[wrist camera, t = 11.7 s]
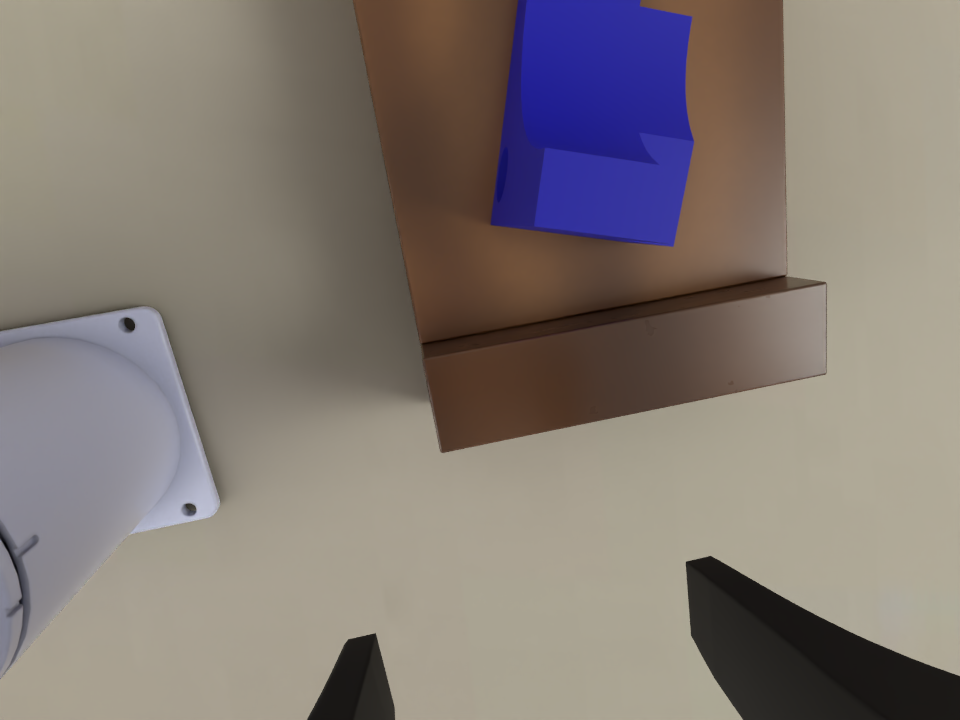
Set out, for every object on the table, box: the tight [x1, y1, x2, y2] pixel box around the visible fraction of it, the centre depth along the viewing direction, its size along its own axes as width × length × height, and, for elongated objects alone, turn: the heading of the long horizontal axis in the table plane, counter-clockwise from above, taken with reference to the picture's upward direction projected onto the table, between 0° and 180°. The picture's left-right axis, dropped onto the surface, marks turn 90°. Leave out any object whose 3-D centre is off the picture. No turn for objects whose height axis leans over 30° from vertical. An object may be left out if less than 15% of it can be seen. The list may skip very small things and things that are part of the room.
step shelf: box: [353, 0, 827, 453], centre depth 16 cm, size 12×23×5 cm, turn 9°
